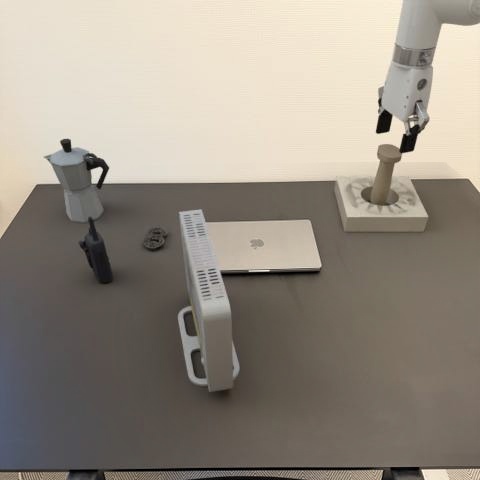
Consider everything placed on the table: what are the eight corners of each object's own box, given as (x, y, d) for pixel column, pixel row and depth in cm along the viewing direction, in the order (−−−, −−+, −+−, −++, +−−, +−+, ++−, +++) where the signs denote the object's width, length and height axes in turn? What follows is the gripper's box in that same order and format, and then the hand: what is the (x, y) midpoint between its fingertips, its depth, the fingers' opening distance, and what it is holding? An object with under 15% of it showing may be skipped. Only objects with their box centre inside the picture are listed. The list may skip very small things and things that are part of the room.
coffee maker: (52, 220, 111) (27, 147, 98) (68, 200, 117) (46, 129, 104) (112, 226, 109) (95, 152, 96) (125, 206, 115) (110, 134, 102)
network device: (247, 396, 75) (248, 307, 61) (193, 406, 74) (181, 317, 60) (218, 292, 93) (213, 203, 79) (174, 298, 92) (161, 210, 77)
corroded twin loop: (170, 230, 107) (169, 226, 107) (163, 251, 102) (162, 248, 101) (148, 229, 108) (148, 225, 107) (140, 250, 102) (139, 246, 101)
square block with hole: (404, 190, 119) (408, 176, 116) (423, 231, 107) (428, 216, 104) (334, 190, 119) (336, 176, 117) (344, 231, 107) (347, 216, 104)
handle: (370, 218, 111) (384, 158, 100) (362, 203, 115) (374, 144, 104) (390, 216, 111) (406, 156, 100) (380, 202, 116) (395, 143, 105)
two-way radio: (116, 281, 95) (99, 219, 84) (94, 289, 94) (75, 226, 83) (107, 266, 99) (90, 204, 88) (86, 273, 97) (67, 211, 86)
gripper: (458, 66, 84) (432, 156, 96) (405, 39, 95) (388, 123, 108) (421, 71, 82) (400, 163, 94) (372, 43, 94) (359, 128, 106)
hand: (393, 141), depth 101 cm, fingers open, 9 cm apart
